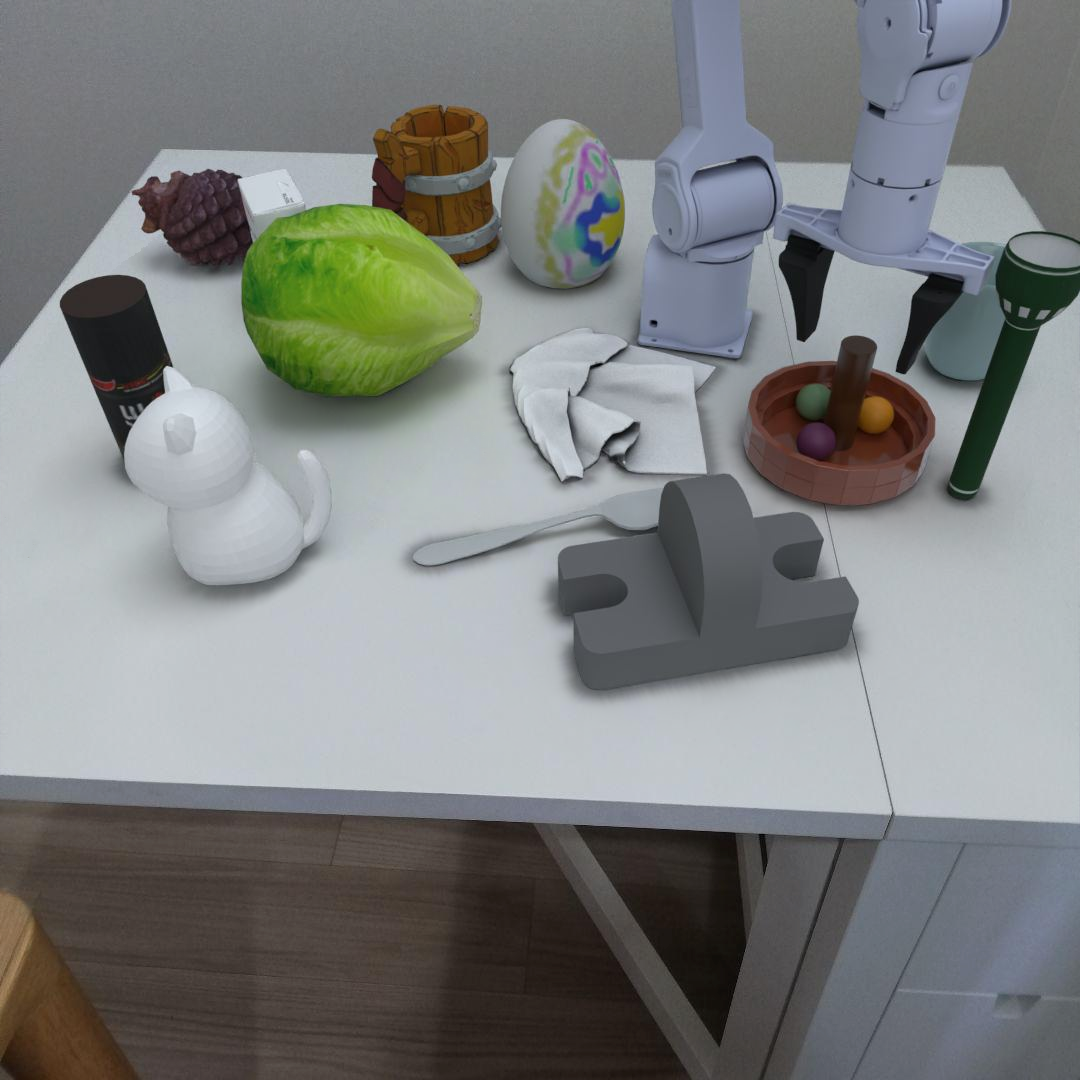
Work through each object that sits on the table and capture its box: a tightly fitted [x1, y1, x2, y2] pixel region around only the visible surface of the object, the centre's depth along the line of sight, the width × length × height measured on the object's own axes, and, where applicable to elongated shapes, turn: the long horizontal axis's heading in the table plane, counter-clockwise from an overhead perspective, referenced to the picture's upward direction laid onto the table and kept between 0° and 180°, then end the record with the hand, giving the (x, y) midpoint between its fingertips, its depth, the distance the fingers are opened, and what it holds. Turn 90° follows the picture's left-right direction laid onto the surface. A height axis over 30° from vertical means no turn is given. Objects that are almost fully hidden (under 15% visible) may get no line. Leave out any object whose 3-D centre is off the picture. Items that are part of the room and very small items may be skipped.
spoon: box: [412, 487, 664, 566], centre depth 72 cm, size 4×21×2 cm, turn 104°
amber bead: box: [858, 396, 894, 434], centre depth 78 cm, size 3×3×3 cm
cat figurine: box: [123, 366, 333, 586], centre depth 66 cm, size 9×12×15 cm
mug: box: [371, 104, 502, 266], centre depth 99 cm, size 11×16×15 cm, turn 148°
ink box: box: [238, 168, 307, 243], centre depth 93 cm, size 8×5×12 cm, turn 23°
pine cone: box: [131, 168, 253, 268], centre depth 102 cm, size 18×10×10 cm
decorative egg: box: [500, 118, 626, 289], centre depth 95 cm, size 12×12×15 cm
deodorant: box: [59, 274, 175, 460], centre depth 75 cm, size 6×6×15 cm
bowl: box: [742, 360, 936, 506], centre depth 77 cm, size 14×14×4 cm
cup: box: [924, 241, 1007, 382], centre depth 83 cm, size 8×8×10 cm
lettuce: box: [240, 203, 483, 398], centre depth 82 cm, size 17×20×15 cm
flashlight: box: [947, 230, 1080, 501], centre depth 68 cm, size 5×5×20 cm
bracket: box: [557, 472, 860, 691], centre depth 63 cm, size 10×18×11 cm, turn 101°
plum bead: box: [796, 423, 836, 461], centre depth 76 cm, size 3×3×3 cm
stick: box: [823, 334, 878, 451], centre depth 75 cm, size 3×3×9 cm
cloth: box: [508, 327, 717, 482], centre depth 82 cm, size 20×22×2 cm
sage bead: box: [796, 383, 830, 421], centre depth 80 cm, size 3×3×3 cm
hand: (854, 350), depth 72 cm, fingers open, 7 cm apart
